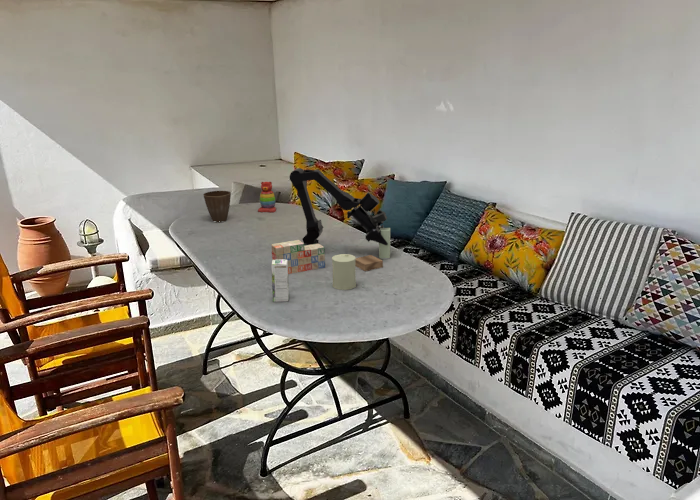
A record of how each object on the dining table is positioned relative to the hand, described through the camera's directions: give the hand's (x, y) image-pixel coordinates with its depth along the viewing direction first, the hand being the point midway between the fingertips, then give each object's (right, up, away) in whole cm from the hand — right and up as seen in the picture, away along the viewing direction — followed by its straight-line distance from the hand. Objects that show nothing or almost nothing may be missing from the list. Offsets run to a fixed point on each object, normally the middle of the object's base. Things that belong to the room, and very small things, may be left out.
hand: (387, 243), depth 236 cm
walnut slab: (-9, -10, -9) cm, 16 cm away
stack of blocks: (-38, -12, -11) cm, 42 cm away
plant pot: (-91, +13, +66) cm, 113 cm away
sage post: (-1, -6, +2) cm, 7 cm away
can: (-19, -17, -29) cm, 39 cm away
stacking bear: (-67, +21, +88) cm, 112 cm away
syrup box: (-42, -21, -41) cm, 63 cm away
